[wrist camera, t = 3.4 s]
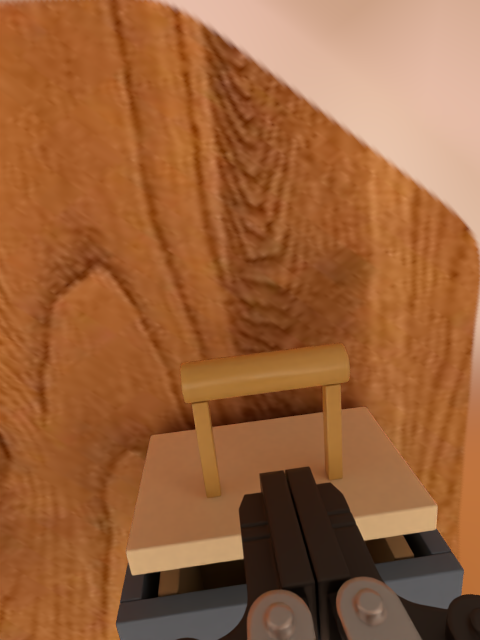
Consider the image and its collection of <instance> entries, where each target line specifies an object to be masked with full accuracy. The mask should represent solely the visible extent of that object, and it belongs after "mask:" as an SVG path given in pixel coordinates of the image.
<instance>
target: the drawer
mask: <svg viewBox="0 0 480 640" xmlns="http://www.w3.org/2000/svg"><path fill="white" fill-rule="evenodd" d="M180 376H181V387H182V393H183V398H184V401H185V403H192V410H193V416H194V423H195V429H194V430H187V431H179V432H172V433H165V434H157V435H151V437H150V442H149V446H148V451H147V455H146V460H145V465H144V469H143V474H142V479H141V483H140V488H139V493H138V497H137V502H136V507H135V511H134V516H133V520H132V525H131V530H130V534H129V539H128V544H127V548H126V555H127V559H128V563H129V566H130V570H131V574H132V575H140V574H146V573H153V572H160V571H161V572H160V581H159V590H158V596H159V597H162V596H169V595H175V594H182V593H188V592H195V591H201V590H208V589H214V588H221V587H227V586H234V585H240V584H246V576H245V566H244V557H243V547H242V538H241V528H240V518H239V507H240V504H241V502H242V499H243V497H244V495H245V494H252V493H259V492H261V488H260V478H259V473H266V472H273V471H280V470H283V471H284V473H285V470H286V469H294V468H301V467H308V466H309V467H310V469H311V471H312V474H313V477H314V479H315V482H316V484H322V483H329V482H331V483H332V484H333V485H334V486H335V487H336V488H337V489H338V490H339V491H340V492H341V493H342V494H343V495H344V497H345V499H346V501H347V504H348V506H349V508H350V512H351V513H352V515H353V517H354V519H355V521H356V525H357V526H358V528H359V530H360V533H361V535H362V537H363V539H364V541H365V544H366V546H367V548H368V550H369V552H370V555H371V557H372V559H373V561H374V564H377V563H384V562H390V561H397V560H403V559H410V558H414V554H413V552H412V550H411V549H410V547H409V545H408V543H407V542H406V540H405V538H404V536H403V535H405V534H412V533H419V532H425V531H432V530H435V529H436V523H437V510H438V506H437V504H436V503H435V501H434V500H433V498H432V497H431V496H430V494H429V493H428V491H427V490H426V489H425V487H424V486H423V485H422V483H421V482H420V480H419V479H418V478H417V476H416V475H415V474H414V472H413V471H412V469H411V468H410V467H409V465H408V464H407V463H406V461H405V460H404V458H403V457H402V456H401V454H400V453H399V451H398V450H397V449H396V447H395V446H394V445H393V443H392V442H391V440H390V439H389V438H388V436H387V435H386V434H385V432H384V431H383V429H382V428H381V427H380V425H379V424H378V422H377V421H376V420H375V418H374V417H373V416H372V414H371V413H370V411H369V410H368V409H367V407H365V406H364V407H357V408H349V409H342V410H341V384H340V383H345V382H348V380H349V377H350V363H349V358H348V354H347V351H346V349H345V347H344V345H343V344H342V343H334V344H326V345H318V346H310V347H302V348H294V349H286V350H279V351H271V352H263V353H255V354H247V355H239V356H232V357H224V358H216V359H208V360H200V361H192V362H184V363H181V366H180ZM314 386H322V400H323V412H320V413H312V414H305V415H298V416H290V417H283V418H275V419H268V420H261V421H253V422H246V423H238V424H231V425H224V426H216V427H212V422H211V415H210V408H209V401H208V400H216V399H224V398H231V397H239V396H246V395H254V394H261V393H269V392H277V391H284V390H292V389H299V388H307V387H314Z"/></svg>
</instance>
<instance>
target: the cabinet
mask: <svg viewBox="0 0 480 640" xmlns="http://www.w3.org/2000/svg"><path fill="white" fill-rule="evenodd" d="M403 536H404V538H405V540H406V542H407V543H408V545H409V547H410V549H411V550H412V552H413V554H414V558H410V559H403V560H397V561H390V562H384V563H377V564H375V566H376V568H377V570H378V572H379V574H380V576H381V578H382V580H383V581H384V582H385V584H386V585H388V586H389V587H390V588H391V589H392V590H393V591H394V592H395V593H396V594H397V595H399V596H400V597H402V598H404V599H406V600H408V601H411V602H413V603H417V604H421V605H426V606H432V607H438V608H443V609H448V607H449V604H450V603H451V602H452V601H453V600H454V599H455V598H457V597H459V596H461V592H462V583H463V574H464V570H463V568H462V566H461V565H460V563H459V562H458V560H457V559H456V557H455V556H454V554H453V553H452V552H451V550H450V548H449V547H448V545H447V544H446V542H445V541H444V539H443V538H442V536H441V535H440V533H439V532H438V530H437V529H435V530H432V531H425V532H419V533H412V534H405V535H403ZM160 572H161V571H160ZM160 572H153V573H146V574H140V575H132V574H131V570H130V566H129V563H128V565H127V570H126V575H125V580H124V585H123V590H122V595H121V600H120V606H119V611H118V615H117V620H116V627H117V630H118V633H119V637H120V640H177V639H180V638H187V637H188V638H195V639H198V640H218V639H220V638H221V637H223V636H225V635H226V634H228V633H230V632H231V631H232V630H233V629H234V628H235V627H236V626H237V625H238V623H239V622H240V621H241V619H242V617H243V615H244V613H245V610H246V607H247V600H248V597H247V585H246V584H240V585H234V586H227V587H221V588H214V589H208V590H201V591H195V592H188V593H182V594H175V595H169V596H162V597H159V596H158V590H159V581H160Z"/></svg>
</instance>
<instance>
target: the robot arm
mask: <svg viewBox="0 0 480 640" xmlns="http://www.w3.org/2000/svg"><path fill="white" fill-rule="evenodd" d="M259 478H260V488H261V492H259V493H252V494H245V495H244V497H243V499H242V502H241V504H240V507H239V518H240V528H241V538H242V547H243V557H244V566H245V576H246V585H247V597H248V600H247V607H246V610H245V613H244V615H243V617H242V619H241V621H240V622H239V623H238V625H237V626H236V627H235V628H234V629H233V630H232V631H231V632H230V633H228V634H226V635H225V636H223V637H221V638H220V639H218V640H480V596H479V595H473V594H470V595H469V594H468V595H461V596H459V597H457V598H455V599H454V600H453V601H452V602H451V603H450V604H449V607H448V609H443V608H438V607H432V606H426V605H421V604H417V603H413V602H411V601H408V600H406V599H404V598H402V597H400V596H399V595H397V594H396V593H395V592H394V591H393V590H392V589H391V588H390V587H389V586H388V585H386V584H385V582H384V581H383V580H382V578H381V576H380V574H379V572H378V570H377V568H376V566H375V564H374V561H373V559H372V557H371V555H370V552H369V550H368V548H367V546H366V544H365V541H364V539H363V537H362V535H361V533H360V530H359V528H358V526H357V525H356V521H355V519H354V517H353V515H352V513H351V512H350V508H349V506H348V504H347V501H346V499H345V497H344V495H343V494H342V493H341V492H340V491H339V490H338V489H337V488H336V487H335V486H334V485H333V484H332V483H331V482H329V483H322V484H316V482H315V479H314V477H313V474H312V471H311V469H310V467H309V466H308V467H301V468H294V469H286V470H285V473H284V471H283V470H280V471H273V472H266V473H259ZM177 640H198V639H195V638H188V637H187V638H180V639H177Z"/></svg>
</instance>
